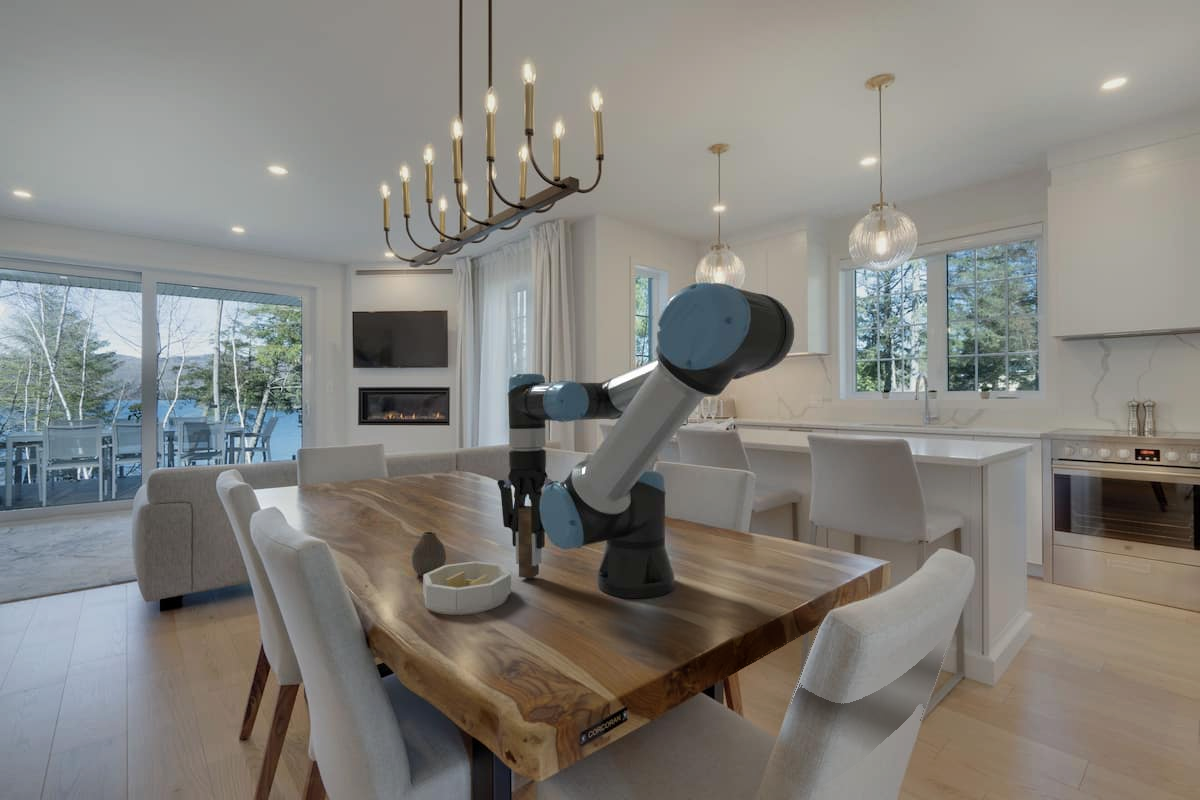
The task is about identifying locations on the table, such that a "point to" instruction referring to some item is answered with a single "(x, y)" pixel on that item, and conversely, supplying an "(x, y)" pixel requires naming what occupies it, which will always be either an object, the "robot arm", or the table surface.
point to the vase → (428, 554)
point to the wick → (526, 542)
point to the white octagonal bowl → (466, 588)
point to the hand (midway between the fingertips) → (528, 562)
